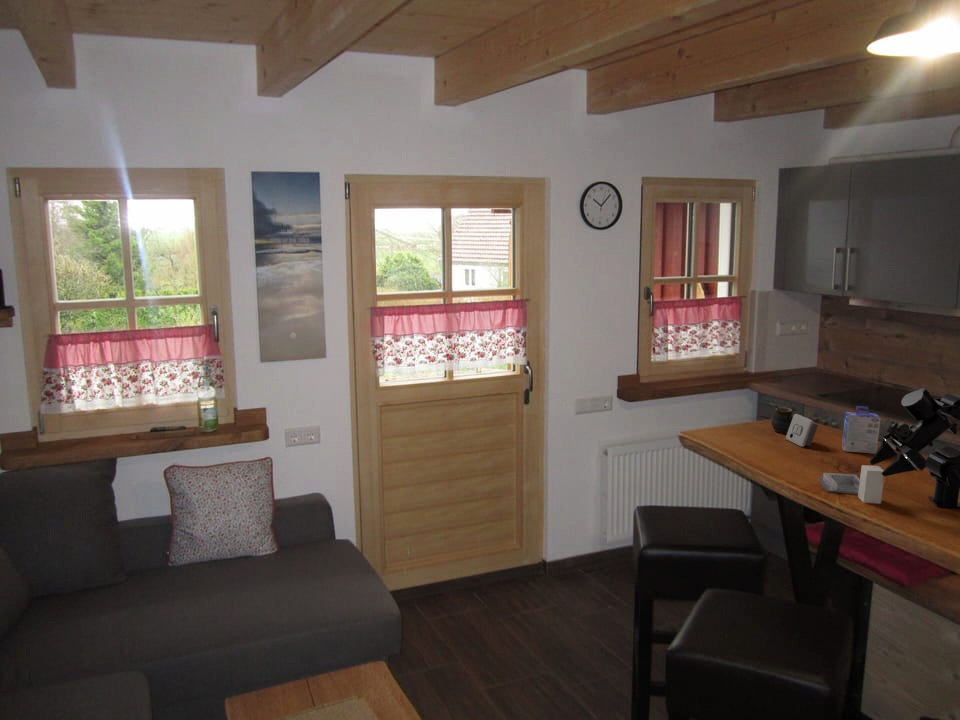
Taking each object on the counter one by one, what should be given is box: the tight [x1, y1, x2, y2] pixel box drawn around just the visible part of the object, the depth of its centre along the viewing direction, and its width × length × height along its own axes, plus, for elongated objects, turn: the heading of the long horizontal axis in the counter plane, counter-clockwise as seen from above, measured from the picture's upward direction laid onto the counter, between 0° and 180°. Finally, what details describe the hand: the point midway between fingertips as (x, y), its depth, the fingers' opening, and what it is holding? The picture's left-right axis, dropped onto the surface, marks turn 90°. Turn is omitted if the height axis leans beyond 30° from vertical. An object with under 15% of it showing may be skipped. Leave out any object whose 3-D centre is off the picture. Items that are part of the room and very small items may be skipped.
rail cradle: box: [817, 472, 860, 495], centre depth 221 cm, size 10×11×2 cm
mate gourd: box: [771, 404, 793, 434], centre depth 275 cm, size 7×8×10 cm
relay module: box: [857, 464, 886, 505], centre depth 211 cm, size 4×5×9 cm
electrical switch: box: [785, 413, 819, 448], centre depth 262 cm, size 9×5×9 cm, turn 13°
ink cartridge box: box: [841, 405, 882, 455], centre depth 254 cm, size 10×6×14 cm, turn 78°
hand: (876, 469), depth 210 cm, fingers open, 9 cm apart
